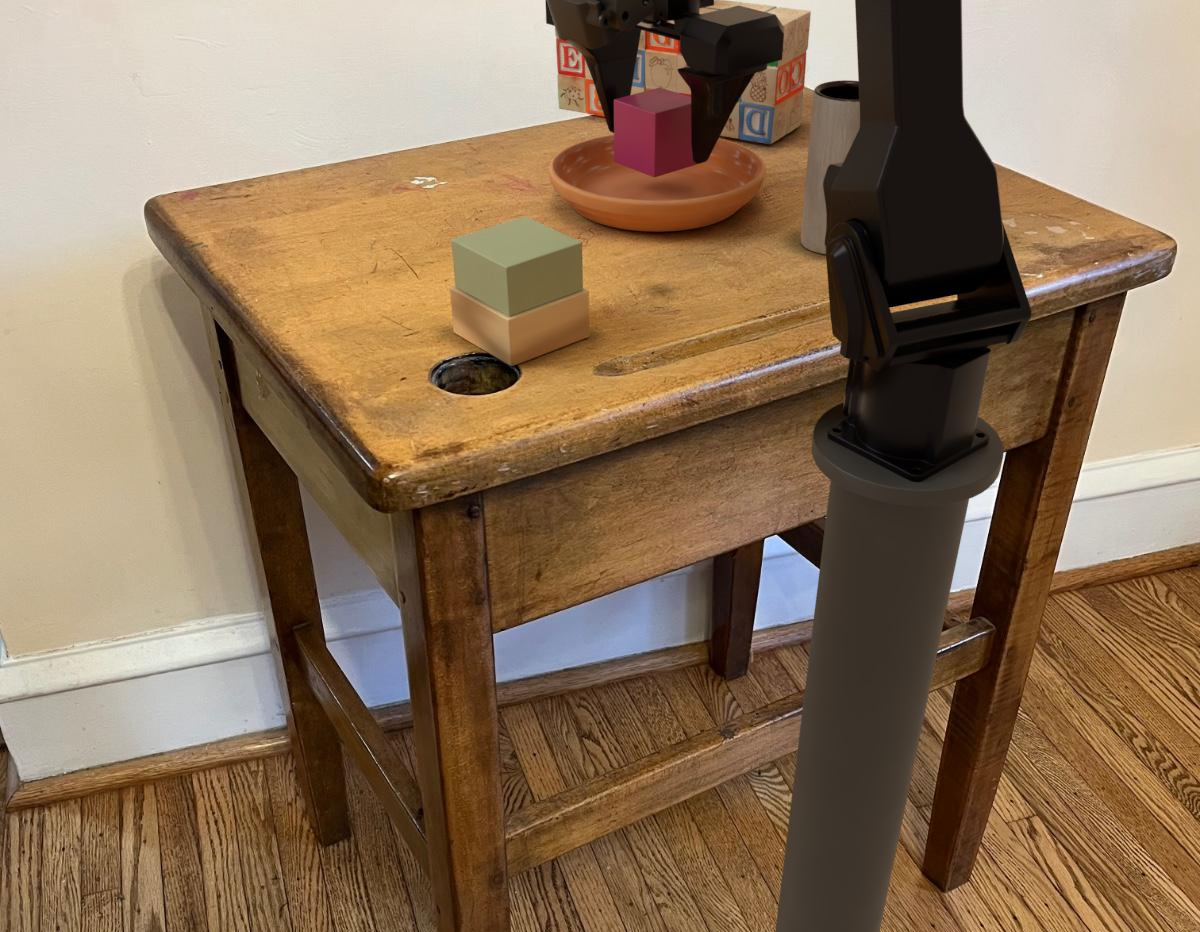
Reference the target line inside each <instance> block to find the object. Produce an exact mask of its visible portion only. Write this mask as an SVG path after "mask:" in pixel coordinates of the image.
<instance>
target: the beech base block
mask: <svg viewBox="0 0 1200 932" xmlns="http://www.w3.org/2000/svg"><path fill="white" fill-rule="evenodd" d="M449 295H450V304H451V306H450V307H451V317H452V329H453V333H454V334H456V335H457V336H459V337H460V338H463V339H464V340H466V341H468V343H470V344H472V345H474V346H476V347H478V348H479V349H481V350H483V351H484V352H486V353H488V354H489V355H491V356H493V357H494V358H496V359H498V360H499V361H501V362H502V363H505V364H506V365H508V366H509V367H515V366H516V365H517V366H518V365H519V364H522V363H525V362H528V361H530V360H533V359H535V358H538V357H540V356H543V355H546V354H548V353H550V352H553V351H557V350H559V349H561V348H564V347H566V346H568V345H572V344H574V343H576V342H579V341H581V340H584V339H587V338H589V337H590V335H591V333H590V332H591V331H590V330H591V329H590V291H589V290H587V289H585V288H583V290H582V291H579V292H577V293H574V294H571V295H568V296H566V297H563V298H560V299H557V300H554V301H552V302H549V303H546V304H543V305H541V306H538V307H535V308H532V309H529V310H527V311H524V312H521V313H518V314H516V315H513V316H507V315H506V314H504V313H502V312H500V311H498V310H497V309H495V308H493V307H491V306H489V305H488V304H486V303H484V302H482V301H480V300H478V299H477V298H475V297H473V296H471V295H469V294H468V293H466V292H464V291H462V290H460V289H459V288H457V287H456V286H455V285H453V286H450V287H449Z"/></svg>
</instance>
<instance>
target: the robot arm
mask: <svg viewBox="0 0 1200 932" xmlns="http://www.w3.org/2000/svg"><path fill="white" fill-rule="evenodd" d="M713 5H714V0H545V23H546V24H547V25H550V26H553V27H554V29H555V28H556V32H557V35H558V38H559V39H561V40H564V41H567V42H569V43H570V44H571V45H572V46H573V47H574V48H575V49H577V50H578V51H579V52H580V53H581V54H582V55H583V57H584V59H585V61H586V64H587V66H588V69H589V71H590V74H591V76H592V79H593V82H594V85H595V88H596V91H597V95H598V98H599V101H600V104H601V107H602V110H603V113H604V116H605V117H604V119H605V123H606V125H607V128H608V131H609V132H610V133H613V134H614V99H618V98H622V97H625V96H629V95H631V89H632V83H633V77H634V71H635V65H636V59H637V53H638V47H639V41H640V35H641V30H644V31H647V32H651V33H654V34H658V35H661V36H665V37H668V38H672V39H675V40H679V41H680V52H681V54H682V56H683V58H684V60H685V62H686V64H687V67H683V68H679V69H678V73H679V74H680V75H681V77H682V78H683V79H684V81H685V82H686V83H687V85H688V86H689V88H690V90H691V144H692V154H693V161H694V163H697V164H700V163H703V162H706V161H707V160H708V159H709V157H710V155H711V153H712V151H713V149H714V147H715V145H716V143H717V141H718V139H719V138H721V136H720V135H721V133H722V131H723V129H724V127H725V125H726V123H727V121H728V119H729V117H730V115H731V113H732V111H733V109H734V107H735V106H736V104H737V102H738V100H739V99H740V97H741V95H742V94H743V92H744V91H745V89H746V87H747V86H748V84H749V83H750V81H751V79H752V78H753V76H754V75H755V73H757V72H761V71H764V70H766V69H767V67H768V64H769V63H772V62H776V61H780V60H782V55H783V42H784V26H783V25H782V23H781V22H780V20H779V19H778V18H777V16H776V15H775V14H771V13H767V12H763V11H759V10H755V9H751V8H747V7H743V6H735V7H730V8H726V9H722V10H717V11H713V12H708V13H704V14H699V13H700V8H704V7H708V6H713ZM854 6H855V9H854V10H855V27H856V28H855V29H856V31H855V32H856V33H855V34H856V49H857V50H856V54H857V55H856V56H857V75H858V76H857V77H858V78H857V79H858V80H857V81H859V103H860V128H859V131H858V133H857V135H856V137H855V139H854V141H853V143H852V145H851V147H850V150H849V152H848V154H847V156H846V158H845V160H844V162H843V163H836V164H830V165H829V166H828V168H827V171H826V174H825V178H824V181H823V189H824V196H825V203H826V213H827V224H826V235H825V242H824V244H825V246H826V254H825V260H826V273H827V286H828V301H829V311H830V312H829V316H830V322H831V332H832V336H833V337H834V338H835V339H837V340H838V341H839V342H840V348H839V354H840V355H841V356H843V358H845V359H847V360H848V365H847V375H846V381H845V382H846V383H845V391H844V399H843V402H844V406H843V415H844V416H846V417H847V419H845V420H843V421H841V422H839V423H837V424H835V425H833V426H831V427H830V428H828V433H827V437H828V439H830V440H832V441H834V442H835V443H837V444H839V445H841V446H843V447H845V448H847V449H849V450H851V451H853V452H855V453H857V454H859V455H861V456H863V457H865V458H866V459H868V460H870V461H872V462H874V463H876V464H878V465H880V466H882V467H884V468H886V469H888V470H890V471H892V472H894V473H896V474H897V475H899V476H901V477H903V478H905V479H907V480H909V481H912V482H921V481H924V480H926V479H927V478H929V477H931V476H933V475H934V474H936V473H938V472H940V471H942V470H943V469H945V468H947V467H949V466H951V465H952V464H954V463H956V462H958V461H960V460H961V459H963V458H965V457H967V456H968V455H970V454H972V453H974V452H976V451H977V450H979V449H981V448H983V447H985V446H986V445H988V443H989V438H990V435H989V434H988V433H986V432H984V431H982V430H980V429H978V428H976V423H977V418H978V417H979V412H980V407H981V402H982V399H983V398H982V397H983V394H984V393H983V392H984V388H985V382H986V378H987V373H988V368H989V363H990V360H991V359H990V358H991V353H992V349H991V348H990V347H993V346H997V345H1003V344H1006V345H1010V344H1015V343H1018V342H1019V340H1020V338H1021V336H1022V335H1023V333H1024V331H1025V329H1026V327H1027V326H1028V324H1029V322H1030V320H1031V318H1032V307H1031V305H1030V302H1029V299H1028V296H1027V293H1026V290H1025V286H1024V283H1023V280H1022V277H1021V274H1020V270H1019V268H1018V265H1017V262H1016V259H1015V255H1014V253H1013V250H1012V247H1011V246H1012V245H1011V243H1010V240H1009V237H1008V235H1007V231H1006V228H1005V225H1004V222H1003V221H1004V220H1003V214H1002V205H1001V204H1002V203H1001V197H1000V195H1001V194H1000V187H999V177H998V171H997V167H996V165H995V163H994V162H993V160H992V158H991V156H990V155H989V153H988V151H987V150H986V148H985V147H984V146H983V144H982V142H981V141H980V139H979V137H978V135H977V134H976V132H975V131H974V129H973V128H972V126H971V124H970V123H969V121H968V120H967V118H966V116H965V109H964V77H963V76H964V64H963V62H964V61H963V0H854ZM672 20H674V24H672V23H669V22H668V21H672ZM952 296H956V299H954V300H948V301H944V302H939V303H933V304H927V305H923V306H917V307H912V308H909V309H904V310H898V311H893V312H891V309H890V308H896V307H901V306H905V305H911V304H916V303H921V302H926V301H932V300H937V299H942V298H947V297H952Z"/></svg>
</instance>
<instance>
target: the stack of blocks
mask: <svg viewBox="0 0 1200 932" xmlns="http://www.w3.org/2000/svg"><path fill="white" fill-rule="evenodd" d="M735 6H743V7H747V8H751V9H755V10H759V11H763V12H767V13H771V14H775V15H776V16H777V18H778V19H779V20H780V22H781V23H782V25H783V26H784V42H783V55H782V60H780V61H776V62H772V63H769V64H768V67H767V69H766V70H764V71H761V72H757V73H755V75H754V76H753V78H752V79H751V81H750V83H749V84H748V86H747V87H746V89H745V91H744V92H743V94H742V95H741V97H740V99H739V100H738V102H737V104H736V106H735V107H734V109H733V111H732V113H731V115H730V117H729V119H728V121H727V123H726V125H725V127H724V129H723V131H722V133H721V135H720V137H725V138H731V139H739V140H742V141H748V142H754V143H760V144H765V145H772V144H774V143H775V142H776V141H779V140H781V138H783V137H785V136H786V135H788V134H789V133H791V132H792V131H794V130H795V129H797V128H799V127H800V126H801V123H802V117H803V116H802V114H803V99H804V89H805V83H806V82H805V81H806V69H807V66H806V65H807V51H808V48H809V38H810V29H811V28H810V26H811V14H812V13H811V12H812V11H811V10H806V9H797V8H791V7H790V8H788V7H782V6H781V7H780V6H779V7H777V6H776V5H767V4H758V3H750V2H742V1H734V0H714V5H713V6H708V7H704V8H700V13H699V14H704V13H708V12H713V11H717V10H722V9H726V8H730V7H735ZM668 22H669V23H672V24H674V20H672V21H668ZM554 35H555V47H556V48H555V49H556V51H555V52H556V67H557V80H556V81H557V100H558V109H559V110H563V111H570V112H575V113H582V114H587V115H590V116H598V117H603V118H605V116H604V113H603V110H602V107H601V104H600V101H599V98H598V95H597V91H596V88H595V85H594V82H593V79H592V76H591V74H590V71H589V69H588V66H587V64H586V61H585V59H584V57H583V55H582V54H581V53H580V52H579V51H578V50H577V49H575V48H574V47H573V46H572V45H571V44H570V43H569V42H567V41H564V40H561V39H559V38H558V35H557V32H556V28H555V27H554ZM683 67H687V64H686V62H685V60H684V58H683V56H682V54H681V52H680V41H679V40H675V39H672V38H668V37H665V36H661V35H658V34H654V33H651V32H647V31H644V30H641V35H640V41H639V47H638V53H637V59H636V65H635V71H634V77H633V83H632V89H631V95H633V94H637V93H641V92H644V91H648V90H652V89H656V88H659V87H660V88H663V89H667V90H670V91H673V92H676V93H679V94H682V95H685V96H688V97H691V90H690V88H689V86H688V85H687V83H686V82H685V81H684V79H683V78H682V77H681V75H680V74H679V73H678V69H679V68H683Z"/></svg>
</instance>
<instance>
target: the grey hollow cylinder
mask: <svg viewBox="0 0 1200 932" xmlns="http://www.w3.org/2000/svg"><path fill="white" fill-rule="evenodd" d="M810 118H811V119H810V129H809V139H808V140H809V141H808V151H807V162H806V173H805V182H804V193H803V195H804V196H803V205H802V206H803V207H802V216H801V227H800V228H801V229H800V243H801V245H802V246H803V247H804V248H805V249H807V250H809V251H811V252H813V253H818V254H821V255H826V246H825V244H824V242H825V235H826V224H827V213H826V203H825V196H824V189H823V181H824V178H825V174H826V171H827V168H828V166H829V165H830V164H836V163H843V162H844V160H845V158H846V156H847V154H848V152H849V150H850V147H851V145H852V143H853V141H854V139H855V137H856V135H857V133H858V131H859V128H860V103H859V80H850V79H849V80H848V79H847V80H845V79H844V80H831V81H827V82H823V83H820V84H818V85H816V86H815V88H814V90H813V95H812V106H811V117H810Z"/></svg>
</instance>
